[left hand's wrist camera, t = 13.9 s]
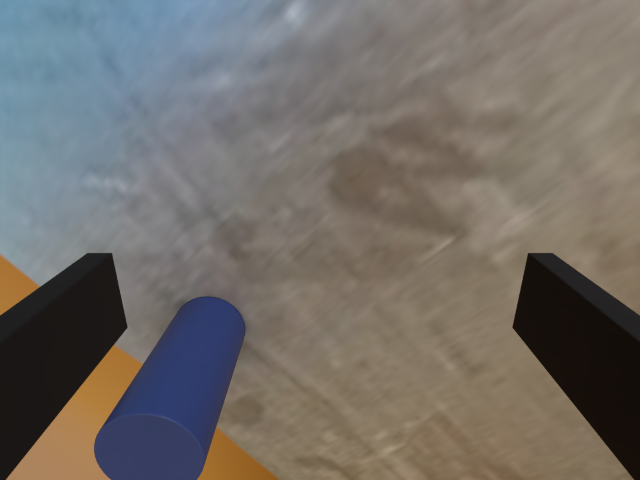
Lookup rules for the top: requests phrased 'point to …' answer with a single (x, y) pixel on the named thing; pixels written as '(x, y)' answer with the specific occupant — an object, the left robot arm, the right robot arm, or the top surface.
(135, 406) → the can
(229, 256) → the top surface
